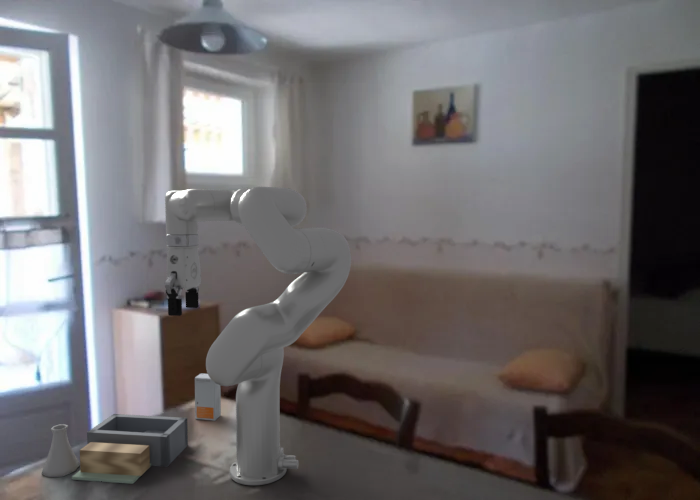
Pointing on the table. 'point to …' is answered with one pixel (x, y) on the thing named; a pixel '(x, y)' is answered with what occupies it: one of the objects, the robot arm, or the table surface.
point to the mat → (105, 477)
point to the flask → (60, 454)
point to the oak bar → (114, 458)
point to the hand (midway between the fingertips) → (183, 311)
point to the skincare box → (207, 398)
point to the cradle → (144, 435)
